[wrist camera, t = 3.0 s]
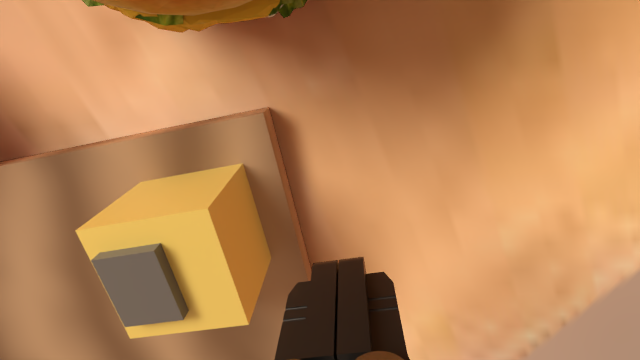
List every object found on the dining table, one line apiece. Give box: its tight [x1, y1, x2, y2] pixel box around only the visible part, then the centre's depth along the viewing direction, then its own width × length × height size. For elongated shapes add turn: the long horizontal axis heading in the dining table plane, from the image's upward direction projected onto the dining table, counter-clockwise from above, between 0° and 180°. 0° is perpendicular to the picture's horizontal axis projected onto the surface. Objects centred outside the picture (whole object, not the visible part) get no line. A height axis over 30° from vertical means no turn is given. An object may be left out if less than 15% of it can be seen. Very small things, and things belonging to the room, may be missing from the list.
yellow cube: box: [75, 163, 271, 339], centre depth 16 cm, size 5×5×5 cm
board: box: [0, 107, 312, 360], centre depth 21 cm, size 22×18×1 cm
